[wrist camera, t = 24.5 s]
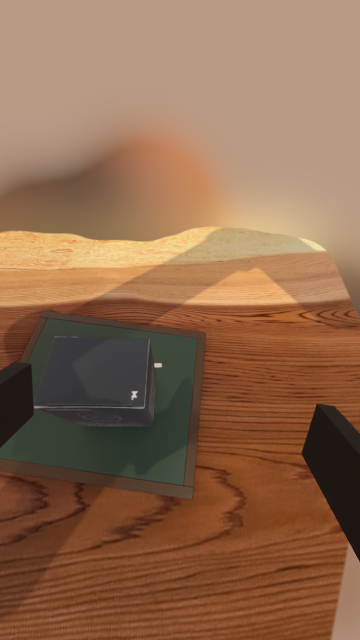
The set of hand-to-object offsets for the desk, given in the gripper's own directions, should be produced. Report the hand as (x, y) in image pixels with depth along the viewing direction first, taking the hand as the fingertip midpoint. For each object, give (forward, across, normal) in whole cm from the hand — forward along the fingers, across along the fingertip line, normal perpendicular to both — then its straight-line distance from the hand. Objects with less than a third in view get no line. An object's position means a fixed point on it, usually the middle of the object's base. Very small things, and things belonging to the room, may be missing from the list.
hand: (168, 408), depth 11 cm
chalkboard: (+15, -8, -10) cm, 20 cm away
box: (+14, -6, -10) cm, 18 cm away
